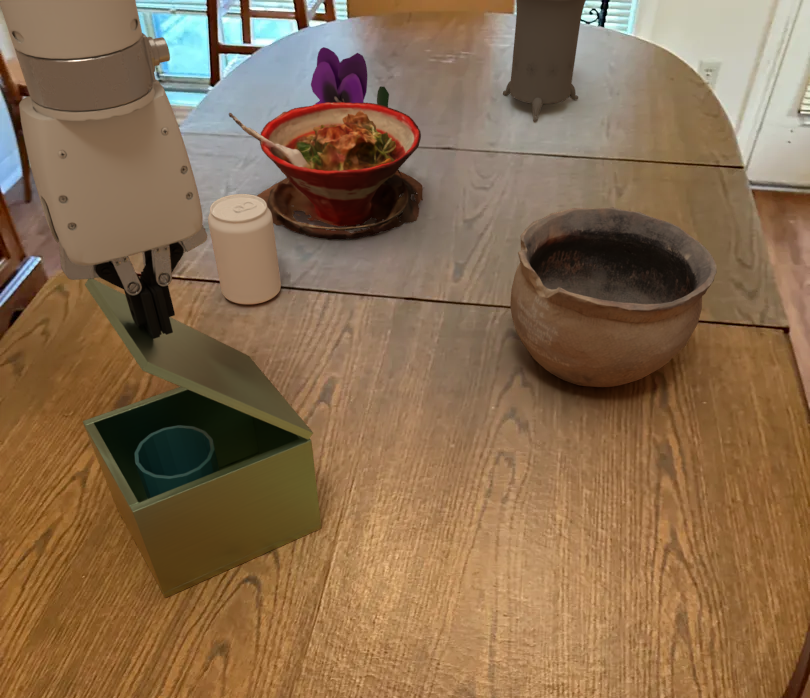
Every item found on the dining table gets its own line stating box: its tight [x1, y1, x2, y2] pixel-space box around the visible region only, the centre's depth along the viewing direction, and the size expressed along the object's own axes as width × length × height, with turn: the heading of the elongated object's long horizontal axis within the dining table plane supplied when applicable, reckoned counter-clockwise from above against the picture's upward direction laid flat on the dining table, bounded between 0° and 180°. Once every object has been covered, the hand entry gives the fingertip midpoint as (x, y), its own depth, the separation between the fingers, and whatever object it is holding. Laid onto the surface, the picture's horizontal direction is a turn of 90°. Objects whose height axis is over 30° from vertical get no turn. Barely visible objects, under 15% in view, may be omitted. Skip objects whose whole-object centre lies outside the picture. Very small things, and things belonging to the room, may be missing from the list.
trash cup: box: [134, 425, 220, 499], centre depth 75 cm, size 7×7×10 cm
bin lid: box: [84, 278, 314, 440], centre depth 67 cm, size 17×14×1 cm
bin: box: [82, 386, 322, 599], centre depth 76 cm, size 17×14×12 cm
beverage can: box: [207, 193, 282, 305], centre depth 104 cm, size 8×8×12 cm
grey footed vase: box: [502, 0, 587, 123], centre depth 143 cm, size 19×15×25 cm
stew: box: [228, 102, 424, 241], centre depth 117 cm, size 28×24×16 cm
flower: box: [310, 47, 390, 107], centre depth 139 cm, size 15×15×14 cm
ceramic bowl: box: [509, 206, 717, 388], centre depth 92 cm, size 22×22×15 cm
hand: (156, 327), depth 62 cm, fingers closed
